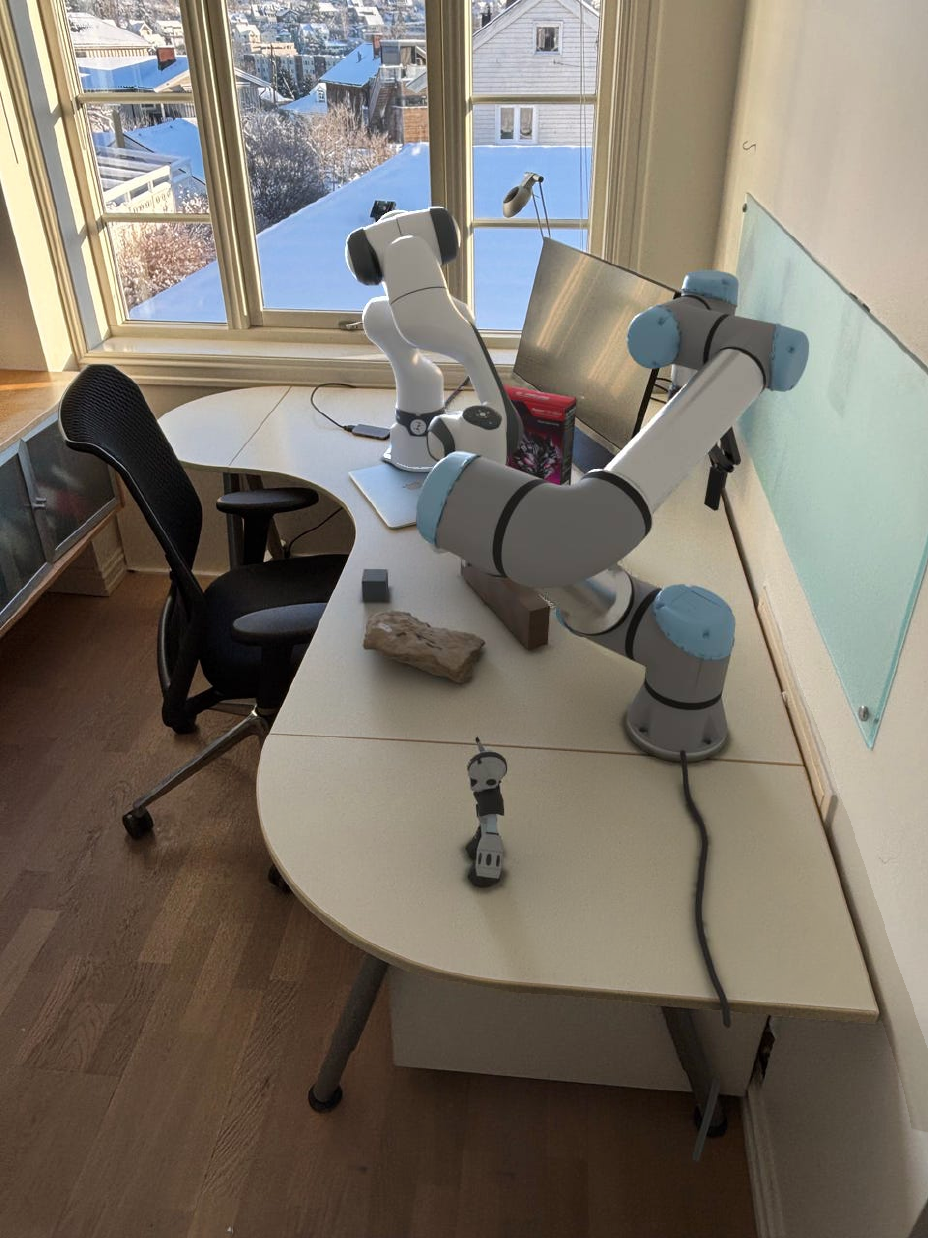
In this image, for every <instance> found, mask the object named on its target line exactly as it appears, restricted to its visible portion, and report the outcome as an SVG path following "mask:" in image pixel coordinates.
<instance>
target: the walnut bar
mask: <svg viewBox="0 0 928 1238" xmlns="http://www.w3.org/2000/svg"><path fill="white" fill-rule="evenodd" d="M460 575H461V576H462V577H463V578H464V580H466V582H468V584H469V585H470V586H471V587H472V589H473V590H475V592H476V593H477V594H478V595H479V596H480V597H481V599H482V600H483V601H484V603H486V604H487V606H489V608H490V609H491V610H492V611H493V612H494V613H495V614H496V616H497V617H498V618H499V619H500V620H501V622H502V623H503V624H504V625H505V626H506V628H508V629H509V630H510V632H511V633H512V634H513V635H514V636H515V637H516V638H517V640H519V642H520V643H521V644H522V645H523V646H524V647H525V649H526V650H527V651H529V650H532V649H536V648H540V647H543V646H547V645H549V636H550V635H549V634H550V620H551V608H552V607H551V605H550V604H549V603H548V601H546V599H545V598H544V597H543V596H541V595H540V594H538V593H537V592H535V591H534V590H532V589H531V588H529V587H527V586H524V585H521V584H518V583H516V582H514V581H512V580H511V579H500V578H495V577H492V576H490V575H488V574H486V573H484V572H483V571H481V570H480V569H478V568H476V567H475V566H473V565H472V566H468V567H464V566H463V565H462V558H460Z"/></svg>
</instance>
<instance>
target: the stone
mask: <svg viewBox="0 0 928 1238" xmlns="http://www.w3.org/2000/svg"><path fill="white" fill-rule="evenodd" d="M366 623H367V624H366V625H365V629H366V632H365V634H364V638H363V642H362V648H363V649H364V650H365V651H368V650H370V651H377V652H379V653H380V654H382V656H383V657H384V658H386V659H388V660H389V659H390V660H395V661H396V662H397V663H403V664H408V665H410V666H413V667H415V668H417V669H420V670H421V671H426V672H427V673H429V674H431V675H433V676H437V677H446V678H449V679H450V680H452V681H453V682H454V683H459V684H464V683H467V681H468V680H469V679H470V676H471V675H472V672H473V670H474V669H473V668H474V667H473V666H474V664H475V662H476V661H477V658H478V656H479V654H480V653H481V651H482V648H483V647H484V646H485V645H486V641H485V640H484V639H483V638H481V637H480V636H477V635H476V634H474V633H470V632H465V631H464V632H463V631H457V630H451V629H448V628H446V627H434V626H431V625H430V623H428V622H426V621H421V620H420V619H419V618H418V617H416V616H413V615H412V613H410V612H405V611H400V610H387V609H386V610H382V611H380V612H377V613H376V614H374V615H373V616H371V617H369V618H368V620H367V622H366Z"/></svg>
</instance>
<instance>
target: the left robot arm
mask: <svg viewBox="0 0 928 1238" xmlns="http://www.w3.org/2000/svg"><path fill="white" fill-rule="evenodd" d="M461 239H462V237H461V230H460V227H459V224H458V222H457V220H456V219H455V218H454V216H453V215H452V212H451V211H450V210H448V209H447V208H445V207H444V206H430V207H429V206H428V208H427V209H422V210H415V211H409V212H408V211H406V210H402V209H401V210H399V209H397V210H391V211H389V212H387V213H385V214H384V215H382V216H381V217H380V219H378V221H377V222H375V223H373V224H371V225H368V226H366V227H363V226H362V227H358V228H357V229H355V230H353V231H352V232H351V233H349V234H348V236H347V239H346V240H345V242H346V246H345V260H346V263H347V264H346V265H347V266H348V269H349V270H350V272H351V274H352V275H353V276H354V278H355V279H356V281H357V282H358V283H360V284H361V285H364V286H370V287H371V286H372V287H373V286H379V285H380V284H382V286H383V289H384V293H385V294H386V296H379V297H374V298H371V300H369V302H368V303H367V304H366V306H365V307H364V309H363V313H362V318H361V319H362V328H363V331H364V333H365V335H366V337H367V338H368V339H369V341H370V342H372V343H373V344H374V345H376V346H377V347H378V349H379V350H380V351H381V352H382V353H383V354H384V355H385V357H386V358H387V361H388V363H390V366H391V368H392V371H393V375H394V380H395V381H394V382H395V390H396V404H395V409H394V415H395V421H396V422H395V423H394V424H393V425H392V426H391V427H390V428H389V447H388V449H387V450H386V451H385V453H384V454H383V456H382V460H383V461H385V462H387V463H391V464H392V465H393V466H395V467H396V468H398V469H400V470H403V471H407V472H415V473H427V472H429V473H430V472H431V470H432V469H433V468H429V469H413V468H407V467H404V466H401V465H399V464H402V465H405V466H408V467H419V468H421V467H434V466H435V465H436V464H437V463H438V462H439V461H440V460H441V459H443V458H446V457H447V456H448V455H449V454H451V453H453V452H457V451H464V452H469V453H473V454H480V455H482V457H484V458H487V459H490V460H492V461H495V462H498V463H500V464H503V465H505V464H506V457H507V456H511V455H512V454H513V453H514V452H515V451H516V449H517V448H518V446H519V445H520V443H521V440H522V438H523V434H524V428H523V423H522V420H521V418H520V415H519V414H518V412H517V410H516V409H515V407H514V406H513V404H512V402H511V401H510V399H509V397H508V395H507V393H506V391H505V389H504V386H503V385H504V384H503V382H502V379H501V377H500V375H499V372H498V370H497V368H496V365H495V364H494V362H493V359H492V357H491V355H490V353H489V350H488V348H487V346H486V343H485V341H484V340H483V337H482V335H481V333H480V332H479V329H478V328H477V326H476V324H477V323H476V317H475V314H474V312H473V310H472V308H471V307H470V306H469V304H468V303H465V302H464V301H462V300H459V299H458V298H456V297H455V296H453V295H452V294H451V293H450V291H449V289H448V284H447V281H446V279H445V276H444V272H443V270H442V267H441V266H443V267H445V266H446V265H449V264H450V263H452V262H453V261H455V260H457V258H458V256H459V254H460V252H461V250H460V247H461ZM420 350H422V351H426V352H431V353H436V354H439V355H443V356H446V357H449V358H451V359H453V360H455V361H457V362H458V363H459V364H460V365H461V366H462V367H463V368H464V370H465V371H466V374H467V375H466V377H465V378H464V380H463V381H462V382H461V383H460V384H459V386H458V387H456V389H455V390H454V391H453V392H452V393H450V395H449V396H448V397H447V399H444V395H445V393H444V381H445V380H444V375H443V373H442V371H441V369H440V368H439V367H438V365H437V364H435V363H434V362H433V361H430V360H428V359H427V358H426V357H425V356H424V355H423V354H422V352H421V351H420ZM468 380H470V383H471V385H472V388H473V390H474V392H475V394H476V397H477V398H478V401H479V403H480V405H479V404H478V405H471V406H468V407H466V408H464V409H462V410H456V411H451V412H447V409H446V406H447V404H448V403H449V402H450V400H451V399H452V398H453V397H454V396H455V395H456V394H457V393H458V391H459V390H460V389H461V388H463V386H464V385H465V384H466V383H467V381H468ZM444 400H445V401H444ZM397 463H399V464H397ZM426 542H427V544H428V547H429V548H430V549H431V550H432V551H433V552H434V553H435V554H437V555H441V554H446V553H449V552H448V551H446V550H444V549H442V548H440V549H438V548H435V547H434V546H433V544H431V543H429V542H428V541H426ZM462 565H463V566H464V567H468V566H472V564H470V563H468V562H467V561H465V560H464V559H462Z"/></svg>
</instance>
